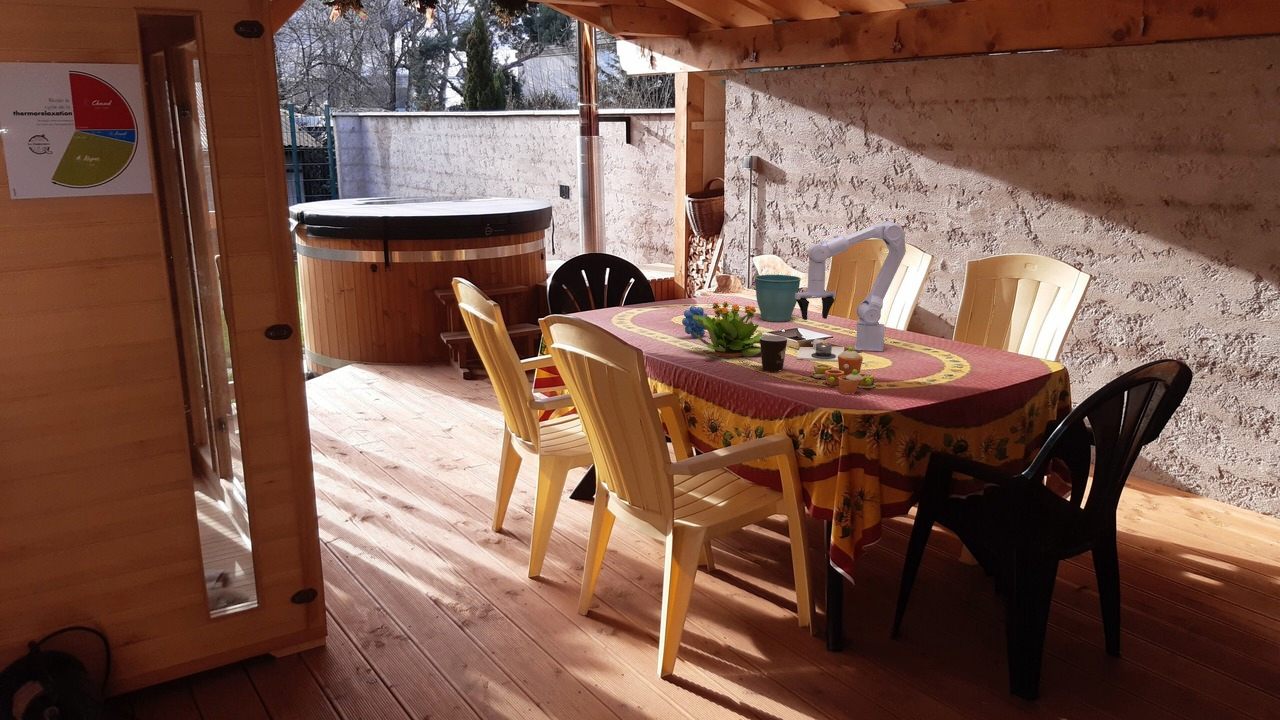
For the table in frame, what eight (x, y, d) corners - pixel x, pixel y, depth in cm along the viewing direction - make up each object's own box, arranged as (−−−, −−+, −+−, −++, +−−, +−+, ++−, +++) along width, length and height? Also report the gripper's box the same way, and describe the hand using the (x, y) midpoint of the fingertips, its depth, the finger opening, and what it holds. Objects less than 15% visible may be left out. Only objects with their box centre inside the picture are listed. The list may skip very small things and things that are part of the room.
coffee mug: (769, 373, 294) (770, 342, 291) (753, 367, 301) (754, 336, 299) (799, 369, 299) (800, 338, 296) (783, 363, 306) (784, 333, 304)
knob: (834, 356, 312) (834, 344, 311) (819, 357, 311) (820, 345, 310) (827, 352, 317) (827, 341, 316) (812, 353, 316) (813, 342, 315)
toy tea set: (805, 374, 294) (807, 344, 291) (852, 372, 297) (854, 342, 294) (839, 397, 269) (841, 364, 266) (890, 394, 272) (892, 361, 269)
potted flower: (732, 366, 302) (733, 312, 298) (675, 355, 318) (676, 303, 314) (777, 353, 320) (778, 302, 316) (721, 343, 336) (722, 294, 332)
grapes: (689, 341, 338) (689, 308, 335) (678, 338, 343) (678, 305, 341) (715, 338, 344) (715, 305, 341) (704, 335, 350) (704, 302, 347)
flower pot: (767, 313, 391) (768, 272, 387) (806, 318, 381) (808, 276, 377) (745, 320, 377) (746, 278, 373) (785, 325, 367) (787, 282, 363)
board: (844, 348, 328) (844, 338, 327) (843, 361, 309) (843, 351, 308) (800, 346, 331) (800, 336, 330) (796, 359, 312) (797, 348, 311)
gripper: (829, 277, 328) (827, 315, 331) (791, 278, 324) (790, 317, 327) (839, 280, 322) (837, 319, 325) (801, 281, 318) (799, 321, 321)
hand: (814, 318), depth 326 cm, fingers open, 7 cm apart
